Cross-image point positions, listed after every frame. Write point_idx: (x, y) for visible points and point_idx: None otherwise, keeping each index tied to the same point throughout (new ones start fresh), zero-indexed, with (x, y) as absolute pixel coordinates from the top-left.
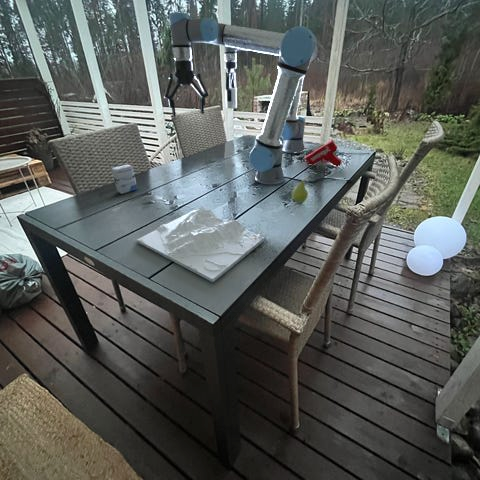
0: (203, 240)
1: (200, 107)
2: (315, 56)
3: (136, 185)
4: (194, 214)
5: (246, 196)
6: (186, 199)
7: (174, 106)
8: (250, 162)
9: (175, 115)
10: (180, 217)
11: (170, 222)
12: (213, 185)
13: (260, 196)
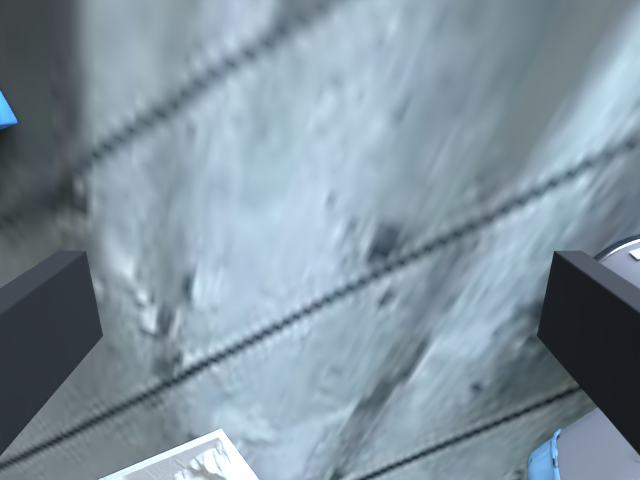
0: None
1: (607, 313)
2: None
3: (3, 124)
4: (211, 474)
5: (442, 390)
6: (224, 322)
7: (11, 439)
8: (527, 477)
9: (95, 340)
10: (170, 459)
11: (137, 472)
12: (380, 237)
13: (486, 409)
